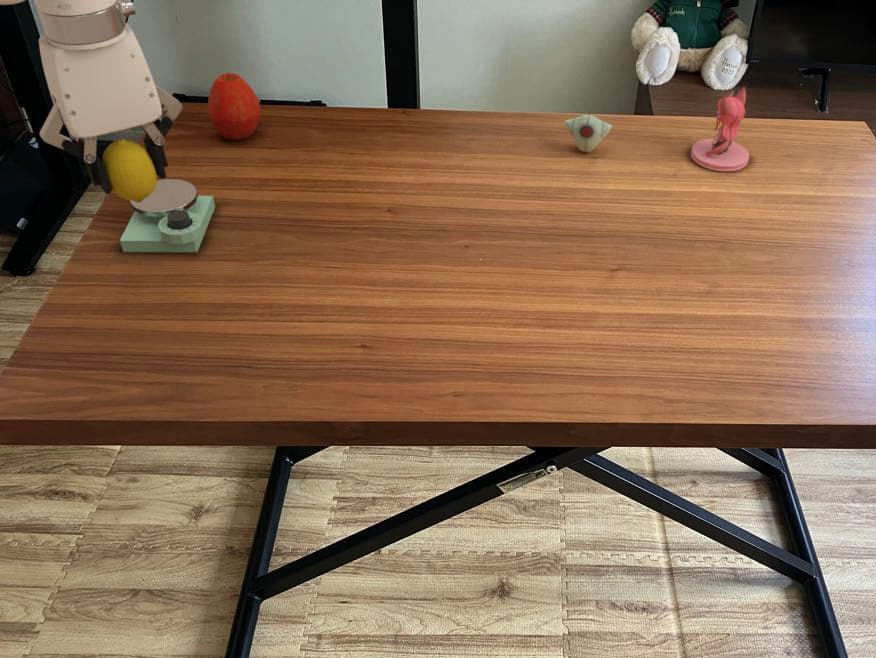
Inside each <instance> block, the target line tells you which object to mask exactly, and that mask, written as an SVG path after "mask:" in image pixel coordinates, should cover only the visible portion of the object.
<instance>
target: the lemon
mask: <svg viewBox="0 0 876 658" xmlns="http://www.w3.org/2000/svg"><path fill="white" fill-rule="evenodd" d="M101 161H102V163H103V165H104V168H105V171H106V174H107V177H108V180H109V183H110V186H111V189H112V192H113V193H114V194H115V195H116V196H117V197H119V198H122V199H123V200H127V201H129V202H130V201H135V202H137V203H140V202H142V201H143V199H145V198H147V197H148V196H149V195H150V194H151V193H152V192H153V191H154V189H155V186H156V182H157V180H158V176H157V174H156V169H155V166H154V163H153V161H152V159H151V157H150V155H149V154H148V152H147V151H146V148H145V147H144V146H143V145H141V144H139V143H138V142H135V141H133V140H129V139H125V138H117V139H116V140H115V141H113V142H111V143H110V144H109V145H108V146H107V147H106V148H105V150H104V151H103V153H102V158H101Z"/></svg>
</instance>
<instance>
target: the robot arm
mask: <svg viewBox="0 0 876 658" xmlns="http://www.w3.org/2000/svg"><path fill="white" fill-rule="evenodd" d="M24 1H26V0H0V6H7V5H8V6H9V5H16V4H19V3H23V2H24ZM33 2H34V5H35V7H36V11H37V13H38V17H39V19H40V22H41V25H42V29H43V31H44V34H43V35H41V36H40V37H39V38H38V45H39V54H40V59H41V64H42V69H43V73H44V76H45V79H46V84H47V88H48V90H49V94H50V98H51V100H52V103H53V106H52V108H51V110H50V111H49V113H48V116H47V117H46V120H45V121H44V123H43V125H42V127H41V129H40V131H39V136H40V138H41V139H42V141H43V142H45V143H47V144H49V145H51V146H53V147H55V148H58V149H61V150H64V151H65V152H66V153H68V154H70V155H72V156H74V157H77V158H78V159H80V160H83V161H84V164H85V166H86V170H87V172H88V173H87V174H88V175H89V178H90V180H91V183H92V184H93V186H94V187H97V186H99V187H100V188H101V190H102V191H103V192H104V194H105V195H109V194H111V193H112V192H113V191H112V189H111V186H110V183H109V180H108V177H107V174H106V171H105V168H104V165H103V163H102V159H100V157H99V156H98V154H97V142H98V137H100V136H105V135H108V134H113V133H118V132H122V131H126V130H130V129H133V128H138V127H141V129H142V130H143V131H144V133H145V136H143V144H144V149H145V150H146V151H147V152H148V154H149V155H150V157H151V159H152V161H153V163H154V166H155V169H156V174H157V178H159V179H161V180H164V179H168V178H167V173H166V169H165V168H167V167H169V163H168V159H167V156H166V153H165V150H164V144H165V142H166V139H165V138H166V137H167V135H168V133H169V131H170V130H171V128H172V127H173V125H174V121H175V120H176V119H177V118H178V116H179V115H180V114H181V113H182V111H183V109H184V106H183V104H182V103H181V102H180V101H179V100H178V99H177V98H175V97H174V96H173V95H171V94H170V93H168V92H166V91H165V90H164V89H162V88H160V87H159V86H158V85H156V83H155V81H154V78H153V75H152V74H151V69H150V68H149V65H148V62H147V60H146V57H145V54H144V52H143V50H142V48H141V45H140V43H139V41H138V39H137V37H136V34H135V33H134V31H133V29H132V28H131V26H130V25H129V24H128V23H126V21H127V18H129V17H130V16H133V15H136V12H137V11H136V8H135V6H134V4H133V2H132V0H126V1H124V0H33ZM162 105H163V107H162ZM63 126H65V127H66V128H67V130H68V132H69V134H70V135H71V137H70V136H67V135H63V134H61V133H60V132H61V130H62V128H63ZM72 137H73V138H72ZM74 138H75V139H74Z"/></svg>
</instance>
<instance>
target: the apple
mask: <svg viewBox="0 0 876 658" xmlns="http://www.w3.org/2000/svg"><path fill="white" fill-rule="evenodd" d="M208 95H209V96H208V101H207V110H208V111H207V112H208V117H209V119H210V122H211V123H212V125H213V127H214V128H215V130H217V132H218V133H219V134H220V135H221V136H222V137H223V138H224V139H225V140H229V141H234V142H237V141H242V140H244V139H248V138H249V137H250V136H252V135H253V134H254V132H255V130H256V129H257V128H258V125H259V124H258V123H259V120H260V117H261V104H260V101H259V98H258V96H257V95H256V93H255V92H254V90H253V88H252V87H251V86H250V85H249V83H248V82H247V81H246V80H245V79H243V77H241V76H240V75H238V74H236V73H233V72H226V73H223V74H221V75H219V76H218V77H217V78H216V79H215V80H214V81H213V83H212V85H211V88H210V92H209V94H208Z"/></svg>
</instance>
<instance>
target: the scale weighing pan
mask: <svg viewBox="0 0 876 658" xmlns="http://www.w3.org/2000/svg"><path fill="white" fill-rule="evenodd" d="M198 196H199V194H198V190H197V188H196V186H195V185H194V184H192V183H191V182H189V181H186V180H182V179H175V178H173V179H172V178H164V179H157V182H156V186H155V189H154V191H153V192H152V193H151V194H150V195H149V196H148V197H147V198H145V199H143V201H142V202H140V203H137V202H135V201H130V200H129V202H130V206H131V208H132V209H133V211H134V212H135V211H136V212H137V213H140V214H142V215H146V216H153V217H162V216H168V214H169V213H171V212H173V211H177V210H183V211H185V210H187V209H189V208H190V207H192V206H193V205H194V204H195V203H196V201H197V199H198Z"/></svg>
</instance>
